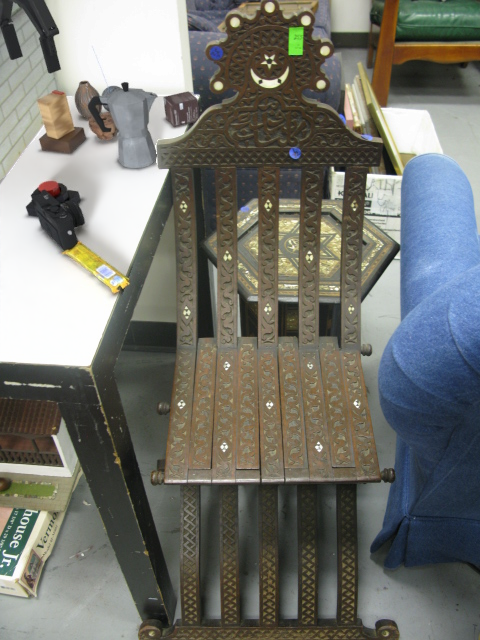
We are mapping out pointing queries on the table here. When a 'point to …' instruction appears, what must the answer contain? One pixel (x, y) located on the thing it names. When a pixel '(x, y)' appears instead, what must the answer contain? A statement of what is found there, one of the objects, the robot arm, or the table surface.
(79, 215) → the camera
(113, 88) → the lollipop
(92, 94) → the vase
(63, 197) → the button block
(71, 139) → the brown square block
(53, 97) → the tan wooden block
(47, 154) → the table surface
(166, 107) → the box
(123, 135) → the coffeepot
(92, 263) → the candy bar
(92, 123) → the artifact
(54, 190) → the button
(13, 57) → the robot arm
